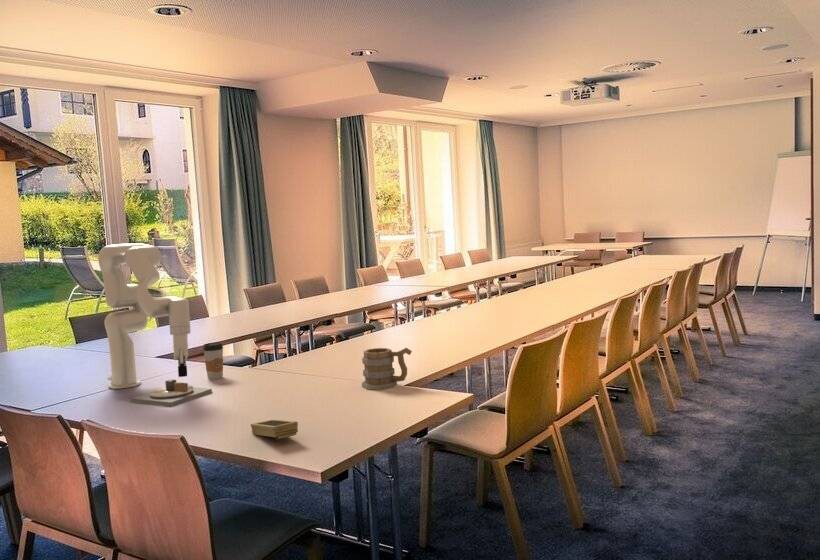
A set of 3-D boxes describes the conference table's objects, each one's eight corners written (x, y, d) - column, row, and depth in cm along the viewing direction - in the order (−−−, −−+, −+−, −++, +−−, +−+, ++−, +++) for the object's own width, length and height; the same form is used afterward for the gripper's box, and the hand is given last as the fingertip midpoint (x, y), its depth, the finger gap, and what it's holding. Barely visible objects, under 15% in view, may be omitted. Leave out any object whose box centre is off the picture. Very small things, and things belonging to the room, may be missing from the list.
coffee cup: (210, 381, 292) (207, 346, 291) (202, 378, 299) (199, 344, 297) (228, 377, 298) (226, 343, 296) (220, 375, 304) (217, 341, 303)
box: (276, 444, 198) (273, 426, 199) (246, 439, 217) (244, 423, 217) (301, 438, 203) (299, 421, 204) (270, 434, 221) (268, 418, 222)
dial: (140, 396, 265) (139, 383, 264) (174, 386, 278) (173, 374, 278) (170, 399, 256) (169, 387, 256) (203, 389, 270) (202, 377, 270)
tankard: (358, 389, 265) (355, 350, 263) (370, 381, 277) (368, 344, 275) (407, 391, 258) (405, 351, 257) (417, 383, 270) (416, 345, 269)
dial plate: (131, 402, 263) (130, 397, 263) (173, 389, 282) (172, 384, 282) (171, 406, 253) (170, 401, 253) (211, 392, 272) (211, 388, 272)
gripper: (170, 327, 274) (173, 372, 276) (169, 333, 260) (172, 381, 262) (190, 326, 277) (192, 371, 278) (190, 332, 262) (192, 379, 264)
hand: (182, 376), depth 270 cm, fingers closed
